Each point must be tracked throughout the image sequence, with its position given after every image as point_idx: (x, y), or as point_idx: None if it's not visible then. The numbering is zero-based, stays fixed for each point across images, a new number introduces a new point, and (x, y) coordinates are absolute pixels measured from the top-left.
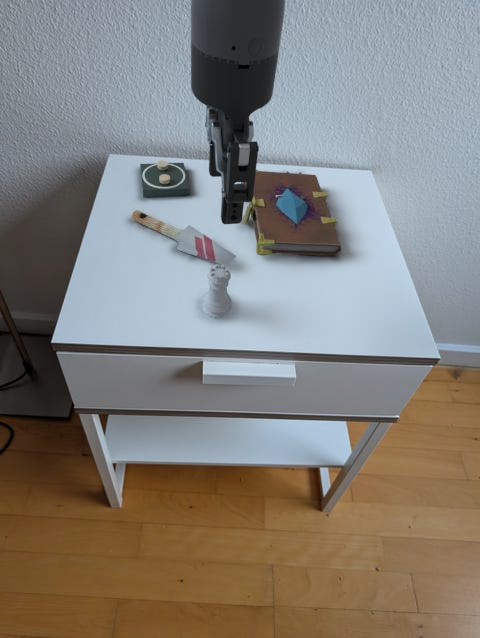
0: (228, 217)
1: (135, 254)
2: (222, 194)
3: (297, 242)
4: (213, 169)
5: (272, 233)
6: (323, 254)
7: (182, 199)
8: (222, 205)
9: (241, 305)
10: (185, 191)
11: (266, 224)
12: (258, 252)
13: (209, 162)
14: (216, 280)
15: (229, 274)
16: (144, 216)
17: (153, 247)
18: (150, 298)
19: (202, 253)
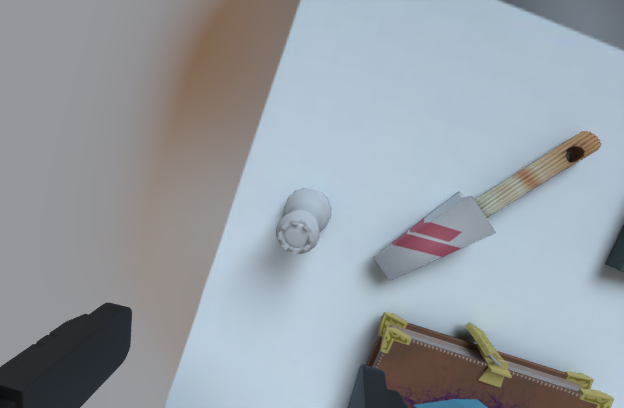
0: (53, 333)
1: (478, 113)
2: (21, 381)
3: None
4: (359, 393)
5: (404, 358)
6: None
7: (598, 247)
8: (53, 345)
9: None
10: (616, 261)
11: (430, 360)
12: (386, 316)
13: (381, 404)
14: (282, 223)
15: (291, 251)
16: (575, 157)
17: (483, 151)
18: (362, 112)
19: (416, 229)
